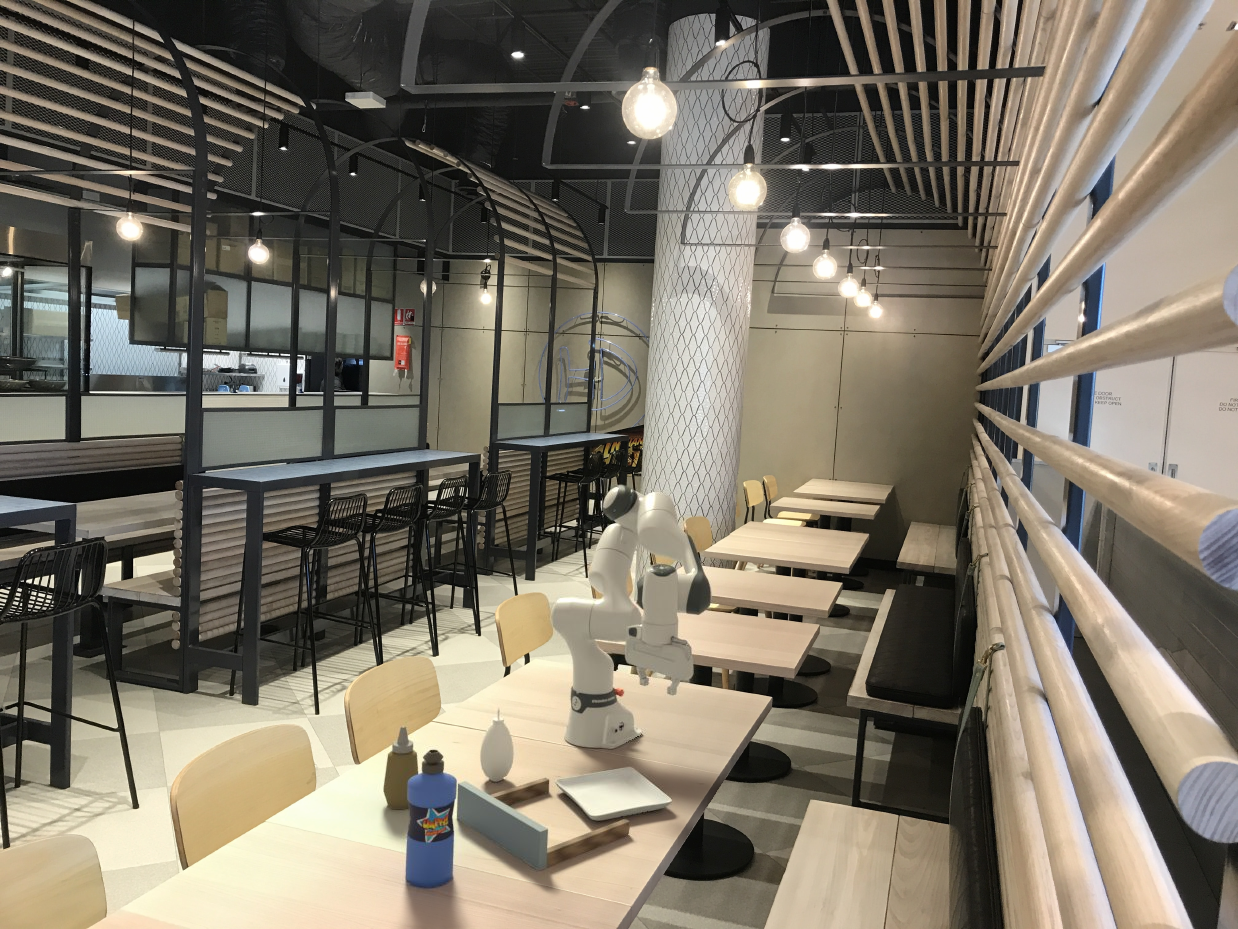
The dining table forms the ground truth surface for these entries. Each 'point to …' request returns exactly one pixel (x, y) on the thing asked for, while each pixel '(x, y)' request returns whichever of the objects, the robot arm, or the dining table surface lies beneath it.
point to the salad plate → (613, 793)
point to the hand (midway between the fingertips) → (657, 689)
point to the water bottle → (430, 824)
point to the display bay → (525, 825)
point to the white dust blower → (497, 750)
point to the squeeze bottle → (400, 771)
